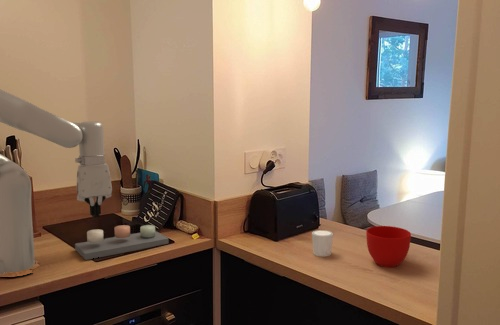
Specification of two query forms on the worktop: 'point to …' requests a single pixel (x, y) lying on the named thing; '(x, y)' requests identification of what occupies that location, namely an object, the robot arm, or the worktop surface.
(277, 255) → the worktop surface
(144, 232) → the sage button
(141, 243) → the button board
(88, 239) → the cream button
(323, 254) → the white tapered tub
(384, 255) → the ceramic cup
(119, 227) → the terracotta button
